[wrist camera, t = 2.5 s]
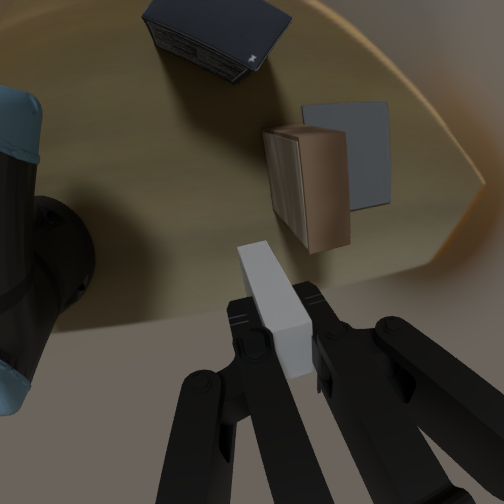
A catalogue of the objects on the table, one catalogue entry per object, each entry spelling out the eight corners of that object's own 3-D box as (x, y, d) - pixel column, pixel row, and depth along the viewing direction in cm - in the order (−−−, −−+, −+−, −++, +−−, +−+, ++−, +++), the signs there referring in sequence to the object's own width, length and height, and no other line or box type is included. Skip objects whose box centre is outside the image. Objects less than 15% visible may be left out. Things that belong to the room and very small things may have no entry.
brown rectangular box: (272, 210, 36) (309, 254, 26) (261, 128, 32) (298, 137, 21) (304, 203, 37) (350, 244, 26) (295, 123, 32) (345, 132, 22)
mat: (312, 217, 38) (313, 217, 37) (301, 105, 31) (302, 105, 31) (389, 201, 39) (390, 202, 39) (385, 102, 32) (387, 102, 32)
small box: (266, 42, 27) (299, 16, 18) (236, 87, 29) (257, 76, 20) (184, 0, 23) (184, -41, 14) (152, 46, 25) (137, 18, 16)
